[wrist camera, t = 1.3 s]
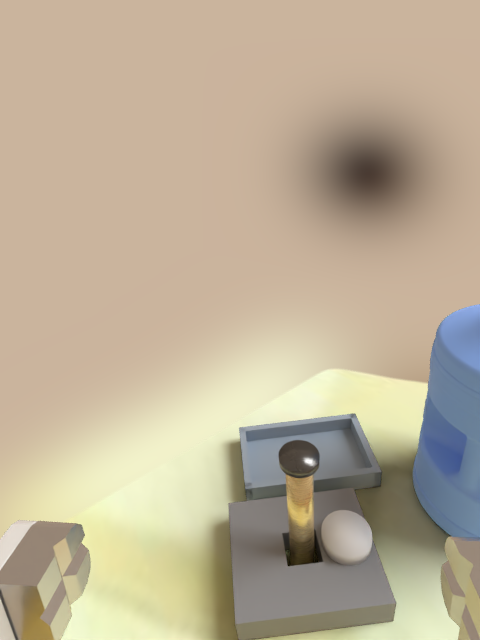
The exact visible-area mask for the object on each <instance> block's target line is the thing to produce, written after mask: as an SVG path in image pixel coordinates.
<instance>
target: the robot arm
mask: <svg viewBox="0 0 480 640" xmlns="http://www.w3.org/2000/svg"><path fill="white" fill-rule="evenodd" d="M84 536H85V534H84V531H83V528H82V525H81V524H76V523H61V522H45V521H25V520H18V521H16V522H15V523H13V524H12V525H11V526H10V527H9V529H8V530H7V531H6V533H5V534H4V535H3V536H2V538H1V539H0V640H61V638H62V636H63V633H64V631H65V629H66V627H67V625H68V623H69V621H70V619H71V617H72V613H71V607H70V605H71V604H72V603H73V602H74V601H76V600H77V599H78V598H79V597H80V596H81V595H82V593H83V591H84V589H85V586H86V584H87V581H88V577H89V573H90V554H89V550H88V549H87V548H86V547H85V546H84V545H83V544H82V543H81V542H82V540H83V538H84ZM444 551H445V553H446V556H447V558H448V561H447V562H446V563H444V564H443V565H442V569H441V587H442V594H443V598H444V602H445V606H446V608H447V611H448V614H449V617H450V618H451V619H452V620H453V621H454V622H455V623H456V624H457V625H458V626H459V627H460V630H459V636H458V640H480V537H448V538H447V540H446V542H445V548H444Z"/></svg>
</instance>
